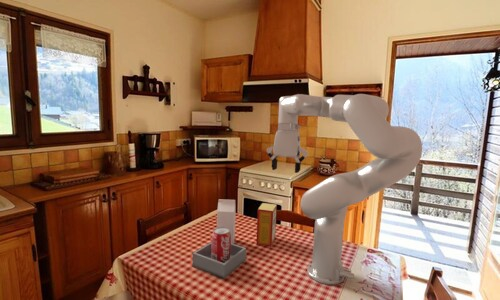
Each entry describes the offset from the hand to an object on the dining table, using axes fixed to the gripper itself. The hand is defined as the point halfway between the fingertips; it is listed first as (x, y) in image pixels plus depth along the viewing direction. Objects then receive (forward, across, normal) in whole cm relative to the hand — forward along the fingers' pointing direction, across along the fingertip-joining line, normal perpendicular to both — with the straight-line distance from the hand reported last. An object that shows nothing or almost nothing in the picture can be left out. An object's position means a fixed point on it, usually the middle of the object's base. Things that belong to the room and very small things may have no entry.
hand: (285, 170), depth 105 cm
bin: (+33, +15, +22) cm, 43 cm away
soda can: (+33, +15, +22) cm, 42 cm away
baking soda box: (+33, +9, -3) cm, 35 cm away
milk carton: (+33, +23, +7) cm, 41 cm away
